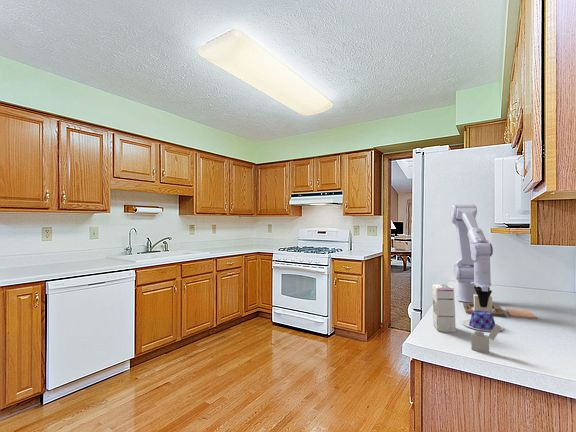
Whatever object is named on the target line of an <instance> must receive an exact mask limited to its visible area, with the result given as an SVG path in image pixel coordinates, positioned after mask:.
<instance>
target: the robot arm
mask: <svg viewBox="0 0 576 432" xmlns="http://www.w3.org/2000/svg"><path fill="white" fill-rule="evenodd" d="M449 212H450V220H451V223H452V224H454V226H455V230H456V237H457V238H456V240H457V247H458V256H459V259H458V260H457V261H455V262H454V264H453V277H454V279H455V280H457V285H458V286H457V289H458V290H457V291H458V293H457V294H458V295H456V299H457V301H458V302H462V303H474V294H476V295H478V298H479V303H480V307H487V304H488V299H489V296H491V294H492V293H493V290H491V286H492V281H491V277H492V276H491V257H492V256H493V254H494V248H493V244H492V243H491V242H490V241H489V240H487V239H486V236H485V233H484V232H483V230H482V229H481V228H480V227H478V226H479V225H478V223H477V220H476V218H477V214H478V207H477V206H476V204H474V203H473V204H472V203H471V204H452V205H451V206H450V211H449Z"/></svg>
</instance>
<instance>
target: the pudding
mask: <svg viewBox="0 0 576 432" xmlns="http://www.w3.org/2000/svg"><path fill="white" fill-rule="evenodd" d="M473 310H474V309H473ZM470 315H471V316H470V319H466V320H463V321H462V324H463V325H464V326H466V327H468V328H470V329H474V330H476V331H482V332H488V331H492V329H493V328H494V326H495V325H496V324H498V325H499V326H501V329H500V331H503V330H504V327H503V326H502V325H501V324H499V323H496V322H495V321H496V320H495V318H494V316H493V315H492V313H490V312H488V311H484V310H474V311H473V312H472V314H470Z"/></svg>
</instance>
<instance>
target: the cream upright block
mask: <svg viewBox="0 0 576 432" xmlns="http://www.w3.org/2000/svg"><path fill="white" fill-rule="evenodd" d="M492 305H493V297H492V295H490V296H489V299H488V304H487V307H480V303H479V298H478V295H476V294H474V307H473V310H484V311H488V312H493V309H492Z"/></svg>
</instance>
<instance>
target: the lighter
mask: <svg viewBox="0 0 576 432" xmlns="http://www.w3.org/2000/svg"><path fill="white" fill-rule="evenodd" d="M498 324H499V323H497V324H496V325H495V326H494V328H493V329H492V330H490V333H489V334H488V335H486V334H485V331H482V330H476V331H474V332H472V333H471V335H470V337H471V338H470V340H471V343H470V344H471V351H474V352H479V353H485V354H489V353H490V340H492V341H495V339H496V338H497V336H498V334H499V333H500V331H501V330H500V329H501V326H502V325H501V326H499V325H500V324H499V325H498Z"/></svg>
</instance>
